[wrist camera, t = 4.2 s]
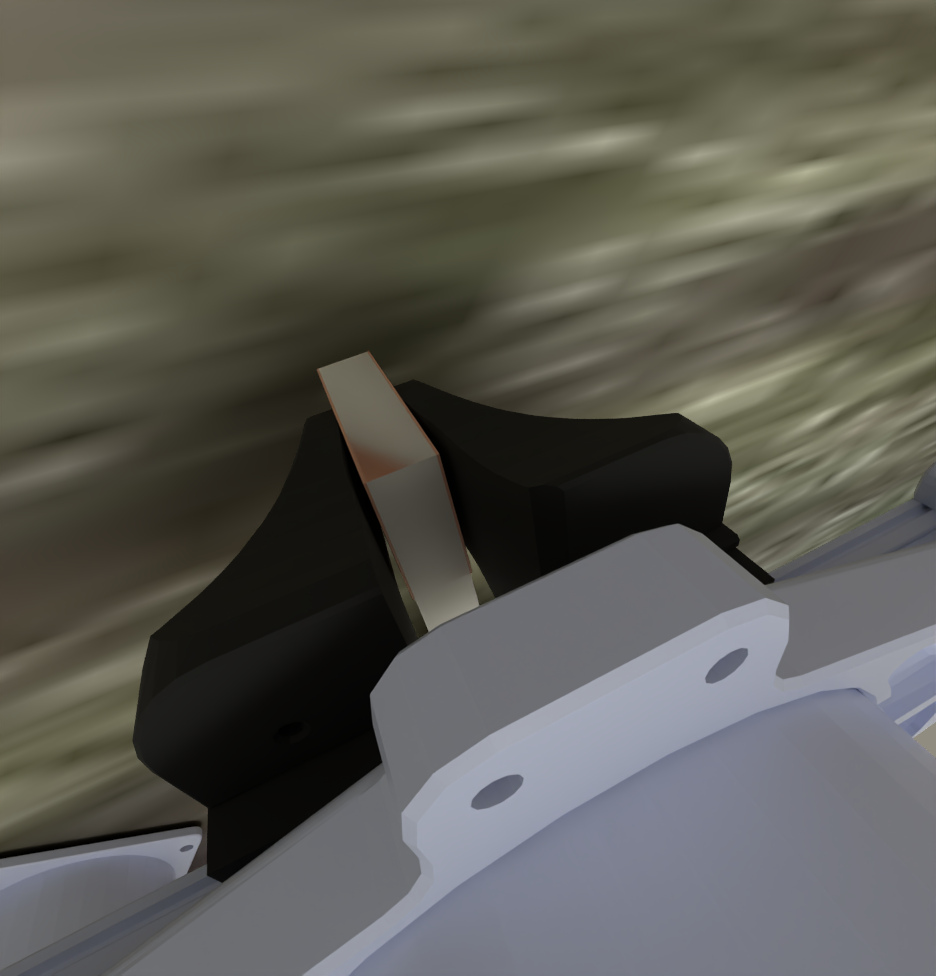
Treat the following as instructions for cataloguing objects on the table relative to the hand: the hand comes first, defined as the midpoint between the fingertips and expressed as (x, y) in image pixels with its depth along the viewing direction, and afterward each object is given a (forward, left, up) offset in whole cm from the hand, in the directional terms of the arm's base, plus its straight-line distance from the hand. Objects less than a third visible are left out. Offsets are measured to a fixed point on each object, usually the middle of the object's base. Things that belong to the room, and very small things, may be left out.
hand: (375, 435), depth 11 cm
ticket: (-6, -5, -1) cm, 8 cm away
